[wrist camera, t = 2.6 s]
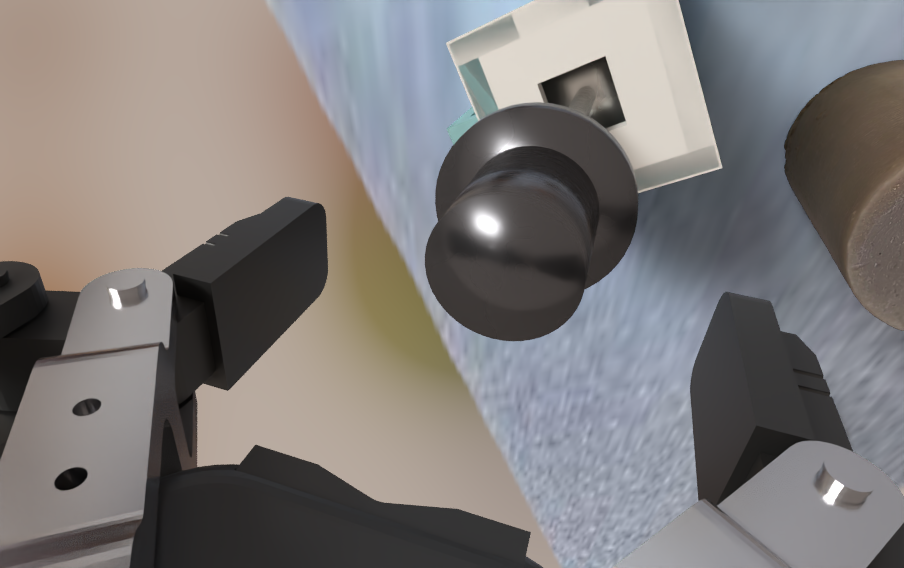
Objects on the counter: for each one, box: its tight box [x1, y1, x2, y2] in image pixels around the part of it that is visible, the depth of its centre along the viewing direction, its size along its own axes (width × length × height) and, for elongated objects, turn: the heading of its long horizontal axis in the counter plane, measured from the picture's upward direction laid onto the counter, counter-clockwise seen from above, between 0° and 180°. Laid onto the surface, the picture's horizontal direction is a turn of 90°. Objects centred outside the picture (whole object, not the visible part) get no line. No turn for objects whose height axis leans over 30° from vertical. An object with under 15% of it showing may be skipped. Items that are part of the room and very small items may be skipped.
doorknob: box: [425, 56, 638, 341], centre depth 19 cm, size 6×6×18 cm
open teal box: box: [446, 0, 722, 193], centre depth 31 cm, size 9×11×14 cm
